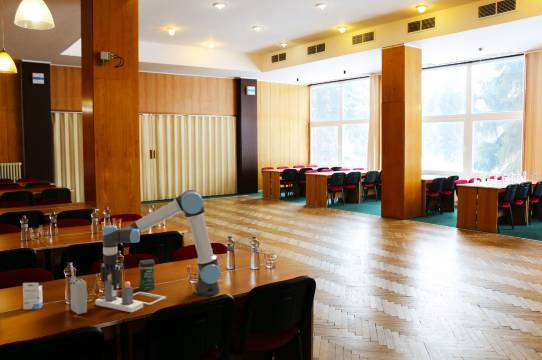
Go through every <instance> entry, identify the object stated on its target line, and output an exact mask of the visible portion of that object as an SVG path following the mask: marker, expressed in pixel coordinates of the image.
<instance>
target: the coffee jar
mask: <svg viewBox="0 0 542 360" xmlns="http://www.w3.org/2000/svg"><path fill="white" fill-rule="evenodd" d="M155 263H156V262H155V260H154V259H152V258H151V259H143V260H139V263H138V269H139V280H138V281H139V282H138V289H139V291H140V292H144V291H145V292H146V291H151V290H155V289H156V284H155V283H156V282H155V272H154V271H155V267H156V264H155Z"/></svg>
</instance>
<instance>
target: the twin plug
mask: <svg viewBox="0 0 542 360" xmlns="http://www.w3.org/2000/svg"><path fill="white" fill-rule="evenodd" d="M123 283H124V284H123V285H124V287H121V298H122V304H123V305H127V306H128V305H130V304H133V300H134V296H133V294H134V287H132V286H131V281H124V282H123Z"/></svg>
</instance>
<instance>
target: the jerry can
mask: <svg viewBox="0 0 542 360" xmlns="http://www.w3.org/2000/svg"><path fill="white" fill-rule="evenodd" d="M69 267H70V272H71V278H70V280H69V283H70V285H69V287H70V310H71V311H72V312H73V313H76V316H79V315H80V314H85V313H88V301H87V299H88V297H87V295H88V294H87V293H88V292H87V291H88V290H87V287H88V286H87V281H86V280H83V279H82V278H79V279H78V278H77V277H76V276H75V274H74V267H73V264H72V262H70V263H69Z"/></svg>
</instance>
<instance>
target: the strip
mask: <svg viewBox="0 0 542 360" xmlns="http://www.w3.org/2000/svg"><path fill="white" fill-rule="evenodd" d="M94 301H95V305H96V306H100V307H104V308H109V309H114V310H119V311H124V312H129V313H134V312H136V311H138V310H140V309H143V308H144V304H143V302H144V301H142V302H138V301H139V300H137V301H133V304H130V305H128V306H127V305H123V304H122V297H117V296H116V300H114V301H111V302H110V301H105V295H103V296H100V298H97V299H95V300H94Z"/></svg>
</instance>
